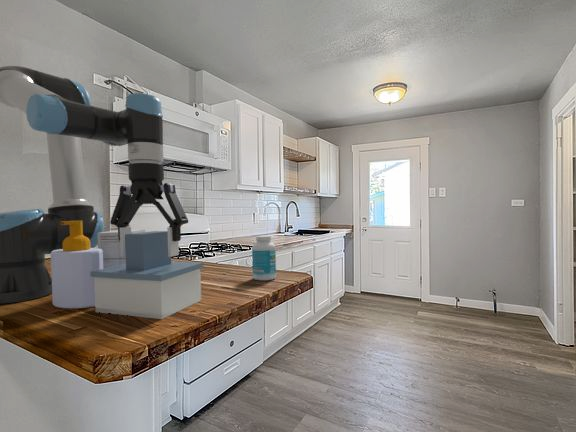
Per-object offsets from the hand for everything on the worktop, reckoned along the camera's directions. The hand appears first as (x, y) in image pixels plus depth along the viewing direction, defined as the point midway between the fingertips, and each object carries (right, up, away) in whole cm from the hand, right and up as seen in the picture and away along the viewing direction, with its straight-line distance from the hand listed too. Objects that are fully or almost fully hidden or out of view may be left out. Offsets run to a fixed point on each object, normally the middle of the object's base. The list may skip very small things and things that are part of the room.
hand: (149, 255), depth 75 cm
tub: (0, -12, 0) cm, 12 cm away
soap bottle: (-19, -13, +4) cm, 23 cm away
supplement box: (-15, -12, +18) cm, 26 cm away
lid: (0, -5, 0) cm, 5 cm away
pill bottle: (+25, -11, +27) cm, 38 cm away
